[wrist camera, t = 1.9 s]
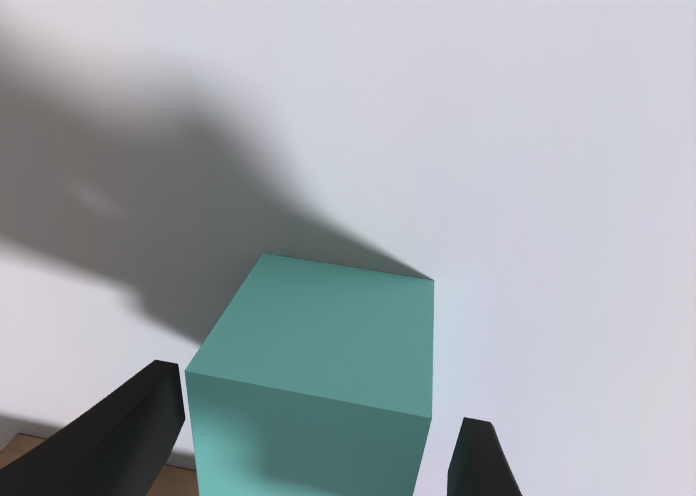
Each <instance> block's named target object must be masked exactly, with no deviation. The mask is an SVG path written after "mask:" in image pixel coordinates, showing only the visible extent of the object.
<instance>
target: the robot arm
mask: <svg viewBox="0 0 696 496" xmlns="http://www.w3.org/2000/svg"><path fill="white" fill-rule="evenodd" d="M184 421H185V412H184V405H183V397H182V390H181V382H180V374H179V367H178V364H176V363H171V362H165V361H160V360H154V361H153V362H152V363H150V364H149V365H148V366H146V367H145V368H144V369H142V370H141V371H140V372H138V373H137V374H136V375H134V376H133V377H132V378H130V379H129V380H128V381H126V382H125V383H124V384H123V385H121V386H120V387H119V388H117V389H116V390H115V391H113V392H112V393H111V394H109V395H108V396H107V397H105V398H104V399H103V400H101V401H100V402H99V403H97V404H96V405H95V406H93V407H92V408H90V409H89V410H88V411H86V412H85V413H84V414H82V415H81V416H80V417H78V418H77V419H75V420H74V421H73V422H71V423H70V424H68V425H67V426H66V427H64V428H63V429H61V430H60V431H58V432H57V433H55V434H54V435H52V436H51V437H49V438H48V439H46V440H45V441H43V442H42V443H40V444H39V445H38V446H36V447H35V448H33V449H32V450H30V451H28V452H27V453H25V454H24V455H22V456H21V457H19V458H17V459H16V460H14V461H13V462H11V463H9V464H8V465H6V466H5V467H3V468H1V469H0V496H146V495H147V493H148V492H149V490H150V488H151V487H152V485H153V483H154V482H155V480H156V478H157V476H158V475H159V473H160V471H161V470H162V468H163V466H164V464H165V463H166V461H167V459H168V457H169V455H170V453H171V451H172V449H173V446H174V444H175V442H176V440H177V437H178V435H179V433H180V431H181V428H182V426H183V424H184ZM447 496H522V494H521V492H520V490H519V487H518V485H517V483H516V481H515V479H514V476H513V474H512V472H511V469H510V467H509V465H508V462H507V460H506V458H505V455H504V453H503V450H502V448H501V445H500V443H499V440H498V437H497V435H496V432H495V429H494V426H493V425H492V424H491V423H490V422H487V421H482V420H477V419H471V418H466V417H464V419H463V422H462V426H461V429H460V432H459V436H458V439H457V442H456V446H455V449H454V452H453V456H452V459H451V462H450V466H449V469H448V482H447Z"/></svg>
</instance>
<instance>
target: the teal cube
mask: <svg viewBox="0 0 696 496" xmlns="http://www.w3.org/2000/svg"><path fill="white" fill-rule="evenodd" d="M433 318H434V280H430V279H423V278H417V277H411V276H404V275H398V274H392V273H386V272H379V271H373V270H367V269H361V268H354V267H348V266H342V265H336V264H329V263H323V262H317V261H311V260H304V259H298V258H292V257H285V256H279V255H273V254H267V253H262V255H261V256H260V258H259V259H258V261H257V262H256V264H255V265H254V267H253V268H252V270H251V271H250V273H249V274H248V276H247V277H246V279H245V280H244V282H243V283H242V285H241V287H240V288H239V290H238V291H237V293H236V294H235V296H234V297H233V299H232V300H231V302H230V303H229V305H228V306H227V308H226V309H225V311H224V312H223V314H222V315H221V317H220V318H219V320H218V321H217V323H216V324H215V326H214V327H213V329H212V330H211V332H210V333H209V335H208V336H207V338H206V339H205V341H204V342H203V344H202V345H201V347H200V348H199V350H198V351H197V353H196V354H195V356H194V357H193V359H192V361H191V362H190V364H189V365H188V367H187V368H186V370H185V378H186V386H187V395H188V403H189V411H190V420H191V428H192V436H193V445H194V453H195V461H196V470H197V478H198V487H199V495H200V496H413V492H414V488H415V484H416V480H417V476H418V472H419V468H420V464H421V460H422V456H423V452H424V448H425V444H426V439H427V435H428V431H429V427H430V423H431V419H432V377H433Z"/></svg>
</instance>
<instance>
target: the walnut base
mask: <svg viewBox="0 0 696 496" xmlns="http://www.w3.org/2000/svg"><path fill="white" fill-rule="evenodd" d="M43 441H45V439H40V438H35V437H31V436H26V435H21V434H17V435H16V436H15V437H14V438H13V439H12V440H11V441H10V442H9V443H8V445H7V446H6V447H5V448H4V449H3V450H2V451H1V452H0V469H1V468H3V467H5V466H6V465H8V464H9V463H11V462H13V461H14V460H16V459H17V458H19V457H21V456H22V455H24V454H25V453H27V452H28V451H30V450H32V449H33V448H35V447H36V446H38V445H39V444H40V443H42V442H43ZM146 496H200V495H199V487H198V478H197V472H196V471H191V470H186V469H181V468H177V467H172V466H167V465H164V466H163V468H162V470H161V471H160V473H159V475H158V476H157V478H156V480H155V482H154V483H153V485H152V487H151V488H150V490H149V492H148V493H147V495H146Z"/></svg>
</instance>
